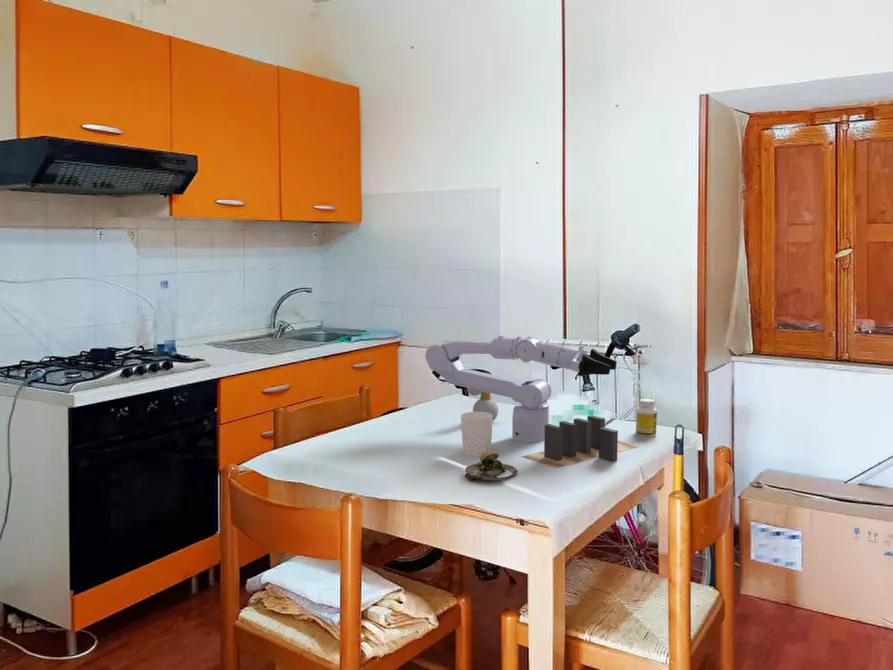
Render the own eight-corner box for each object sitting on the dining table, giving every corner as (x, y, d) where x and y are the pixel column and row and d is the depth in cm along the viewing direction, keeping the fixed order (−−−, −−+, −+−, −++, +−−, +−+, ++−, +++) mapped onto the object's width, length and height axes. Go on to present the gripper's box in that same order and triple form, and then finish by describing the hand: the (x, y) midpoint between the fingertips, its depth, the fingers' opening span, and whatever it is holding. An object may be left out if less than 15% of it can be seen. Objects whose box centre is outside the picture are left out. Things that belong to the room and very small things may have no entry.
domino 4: (599, 450, 195) (600, 419, 194) (586, 446, 198) (587, 416, 197) (604, 449, 196) (604, 418, 195) (591, 445, 199) (591, 415, 198)
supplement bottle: (656, 438, 208) (657, 402, 207) (636, 437, 209) (637, 401, 208) (655, 433, 214) (656, 398, 212) (635, 432, 215) (636, 397, 213)
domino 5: (612, 464, 185) (613, 431, 184) (598, 460, 189) (599, 428, 187) (617, 463, 186) (617, 430, 185) (603, 459, 189) (603, 427, 188)
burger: (465, 485, 171) (465, 452, 170) (464, 469, 183) (464, 438, 182) (519, 485, 171) (520, 452, 170) (515, 469, 183) (515, 438, 182)
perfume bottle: (502, 420, 229) (502, 380, 228) (489, 427, 221) (489, 386, 219) (478, 417, 233) (478, 378, 231) (465, 425, 224) (465, 384, 222)
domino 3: (586, 453, 192) (586, 422, 191) (573, 450, 195) (573, 418, 194) (590, 452, 193) (591, 421, 192) (577, 448, 196) (578, 418, 195)
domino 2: (571, 457, 189) (572, 425, 188) (558, 453, 192) (559, 421, 191) (576, 456, 190) (576, 424, 189) (563, 452, 193) (563, 421, 192)
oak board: (555, 470, 180) (555, 467, 180) (520, 458, 190) (520, 456, 190) (640, 448, 198) (640, 446, 198) (604, 439, 208) (604, 436, 208)
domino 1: (557, 461, 186) (557, 428, 185) (544, 456, 189) (544, 425, 188) (561, 459, 187) (562, 427, 186) (549, 455, 190) (549, 424, 189)
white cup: (496, 451, 197) (496, 412, 196) (487, 459, 189) (487, 419, 188) (466, 448, 199) (466, 410, 198) (456, 457, 192) (456, 417, 191)
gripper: (556, 345, 195) (609, 356, 190) (571, 338, 208) (621, 348, 203) (551, 372, 196) (604, 384, 191) (566, 363, 209) (616, 374, 204)
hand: (612, 367), depth 197 cm, fingers open, 7 cm apart
